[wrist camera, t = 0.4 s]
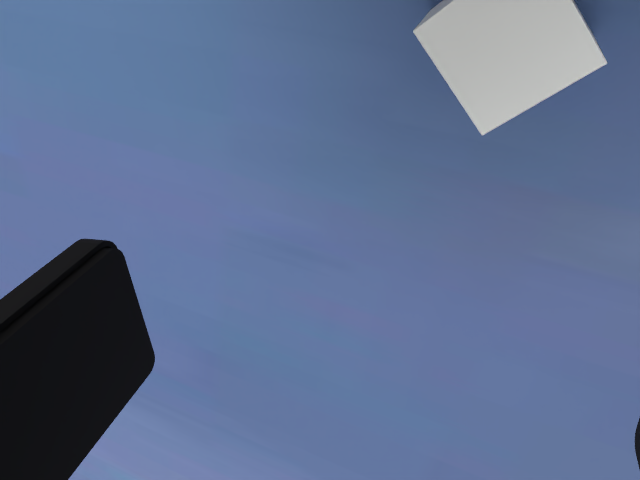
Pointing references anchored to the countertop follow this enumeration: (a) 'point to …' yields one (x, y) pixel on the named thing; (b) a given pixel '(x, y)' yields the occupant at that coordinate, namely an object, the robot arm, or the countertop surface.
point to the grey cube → (508, 53)
